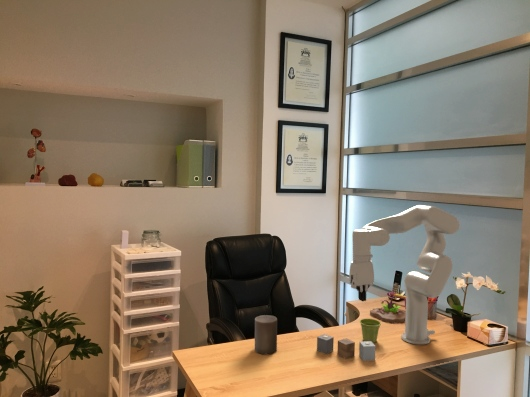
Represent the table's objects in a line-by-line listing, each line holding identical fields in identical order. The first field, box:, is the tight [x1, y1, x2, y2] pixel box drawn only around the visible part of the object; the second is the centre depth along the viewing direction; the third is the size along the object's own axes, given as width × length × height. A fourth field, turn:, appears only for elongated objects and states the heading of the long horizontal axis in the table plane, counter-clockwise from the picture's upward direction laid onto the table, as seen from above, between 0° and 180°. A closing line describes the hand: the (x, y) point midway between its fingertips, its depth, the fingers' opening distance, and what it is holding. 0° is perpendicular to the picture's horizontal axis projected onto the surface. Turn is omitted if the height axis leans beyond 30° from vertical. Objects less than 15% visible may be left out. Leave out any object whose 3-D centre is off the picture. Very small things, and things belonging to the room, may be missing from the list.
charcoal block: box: [316, 333, 334, 355], centre depth 178 cm, size 5×5×6 cm
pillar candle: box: [254, 314, 278, 355], centre depth 178 cm, size 10×10×15 cm
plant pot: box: [359, 318, 382, 344], centre depth 190 cm, size 9×9×9 cm
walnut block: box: [336, 337, 356, 360], centre depth 174 cm, size 5×5×6 cm
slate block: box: [358, 340, 376, 362], centre depth 172 cm, size 5×5×6 cm
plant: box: [369, 295, 406, 324], centre depth 224 cm, size 20×20×11 cm
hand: (362, 300), depth 179 cm, fingers closed
